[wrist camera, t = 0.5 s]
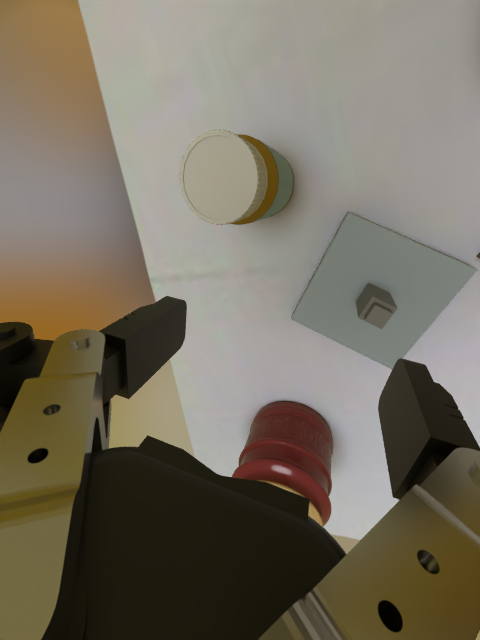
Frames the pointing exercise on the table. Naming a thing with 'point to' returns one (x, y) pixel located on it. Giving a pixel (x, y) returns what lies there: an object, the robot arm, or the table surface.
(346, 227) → the square plate
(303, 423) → the canister
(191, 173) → the bottle
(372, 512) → the table surface
